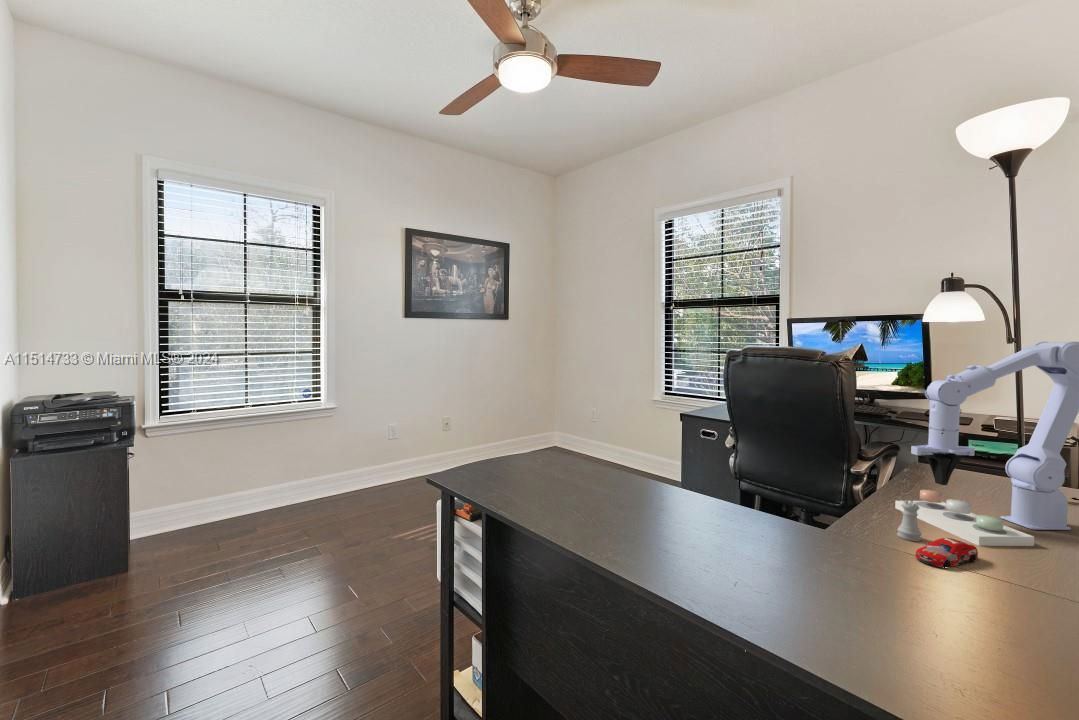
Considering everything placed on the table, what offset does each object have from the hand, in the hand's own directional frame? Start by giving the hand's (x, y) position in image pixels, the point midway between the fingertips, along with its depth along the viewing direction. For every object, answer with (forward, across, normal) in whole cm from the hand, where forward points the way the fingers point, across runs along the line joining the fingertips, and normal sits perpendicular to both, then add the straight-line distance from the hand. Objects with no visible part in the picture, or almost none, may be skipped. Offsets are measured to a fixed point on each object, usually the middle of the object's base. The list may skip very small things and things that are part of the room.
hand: (941, 484), depth 122 cm
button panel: (+8, 0, -5) cm, 10 cm away
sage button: (+6, 0, -13) cm, 14 cm away
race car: (+9, -19, -24) cm, 32 cm away
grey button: (+5, 0, -5) cm, 7 cm away
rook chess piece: (+9, -18, -13) cm, 24 cm away
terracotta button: (+5, 0, +3) cm, 6 cm away
